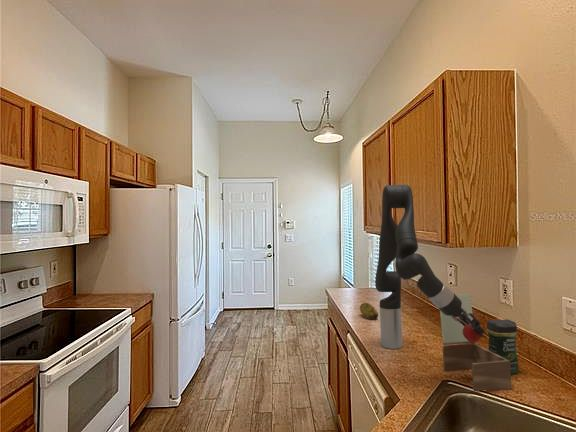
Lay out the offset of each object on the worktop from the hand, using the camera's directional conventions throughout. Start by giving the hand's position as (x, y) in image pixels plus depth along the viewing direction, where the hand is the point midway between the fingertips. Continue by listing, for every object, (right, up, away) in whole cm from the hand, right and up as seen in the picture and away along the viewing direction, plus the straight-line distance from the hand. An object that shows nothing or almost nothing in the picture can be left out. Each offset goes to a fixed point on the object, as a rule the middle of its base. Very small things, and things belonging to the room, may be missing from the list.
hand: (476, 330), depth 127 cm
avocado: (-19, -19, +83) cm, 87 cm away
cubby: (-1, -17, -1) cm, 17 cm away
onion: (-2, -4, 0) cm, 5 cm away
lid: (-2, +2, +9) cm, 9 cm away
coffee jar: (+13, -17, +5) cm, 22 cm away
